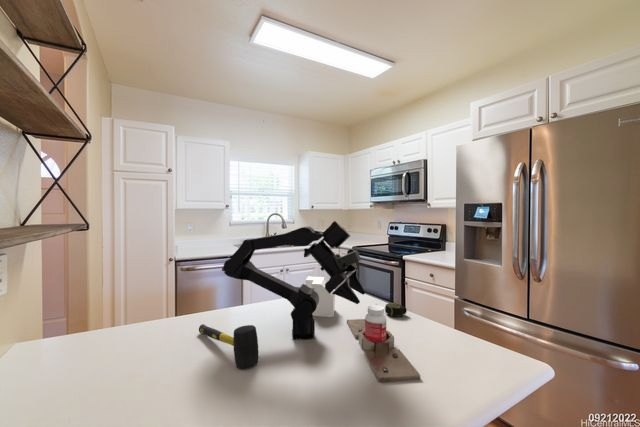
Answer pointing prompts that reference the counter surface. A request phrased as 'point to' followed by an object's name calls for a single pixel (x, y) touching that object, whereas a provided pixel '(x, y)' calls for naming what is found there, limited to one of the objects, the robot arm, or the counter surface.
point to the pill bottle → (375, 323)
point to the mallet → (238, 343)
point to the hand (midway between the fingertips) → (361, 298)
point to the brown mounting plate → (383, 355)
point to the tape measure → (395, 309)
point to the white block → (322, 297)
